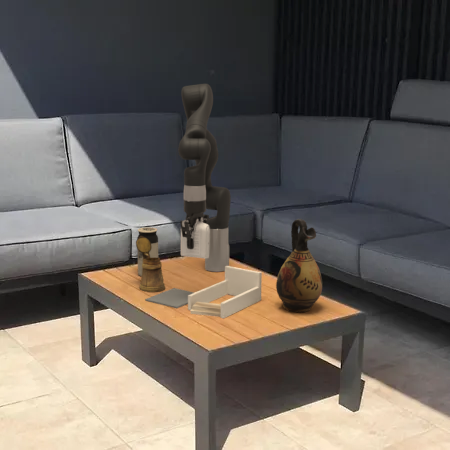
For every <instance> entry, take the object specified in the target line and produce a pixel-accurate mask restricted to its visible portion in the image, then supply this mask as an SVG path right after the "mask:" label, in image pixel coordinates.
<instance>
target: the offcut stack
mask: <svg viewBox="0 0 450 450" xmlns="http://www.w3.org/2000/svg"><path fill="white" fill-rule="evenodd" d="M189 311H190V314H191V315H199V316H210V317H217V318H218V317H219V318H221V303H213V302H209V303H204V302H196V303H195V304H194V305H193V308H192V309H191V310H189Z"/></svg>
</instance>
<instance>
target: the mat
mask: <svg viewBox="0 0 450 450" xmlns="http://www.w3.org/2000/svg"><path fill="white" fill-rule="evenodd" d="M193 293H195V292H194V291H189V290H185V289H182V288H175V287H173V288H170V289H168V290H165V291H162V292H159V293H158V294H157V293H156V295H151V296H150V297H148V298H147V297H146V298H145V299H144V300H145V301H146V302H150V303H153V304H158V305H162V306H166V307H170V308H173V309H179V308H182V307H183V306H186V305H188V295H190V294H193Z"/></svg>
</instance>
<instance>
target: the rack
mask: <svg viewBox="0 0 450 450" xmlns="http://www.w3.org/2000/svg"><path fill="white" fill-rule="evenodd" d="M262 276H263V274H262V271H256V270H251V269H247V268H240V267H235V266H230V265H229V266H225V271H224V280H222V281H220V282H217V283H215V284H212V285H210V286H207V287H205V288H202V289H200V290H198V291H195V292H194V293H193V294H190V295H188V304H187V310H188V311H190V310H191V309H192V308H193V305H194V304H195V303H196V302H204V303H212V302H213V301H215V300H218V299H220V298H222V297H225V296H227V295H229V296H232V297H231V298H229V299H226V300H223V301H222V302H220V304H221V317H220V318H221V319H225V318H227V317H229V316H231V315H233V314H235V313H238V312H240V311H242V310H244V309H246V308H247V307H250V306H252V305H254V304H257V303H258V302H260V301H262V281H263V280H262Z"/></svg>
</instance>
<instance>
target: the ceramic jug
mask: <svg viewBox="0 0 450 450" xmlns="http://www.w3.org/2000/svg"><path fill="white" fill-rule="evenodd" d="M290 233H291V234H290V235H291V250H292V251H291V253H290V255H289V256H287V258H286V260H285V261H284V263H283V264H282V266H281V267H280V270H279V272H278V274H277V277H276V283H275V288H276V292H277V293H276V294H277V295H278V297H279V299H280V300H281V302H282V303H283V308H284V309H285V310H287V312H294V313H305V312H309V311H311V308H312V306H313V305H314V304H316V302H317V301H318V300H319V299H320V297H321V294H322V292H323V291H322V290H323V279H322V274H321V271H320V267H319V266H318V264H317V262H316V259H315V258H314V257H313V255H312V253H311V251H310V249H309V247H308V242H309V241H310V240H314V239H316V238H317V231H316V230H315V228H314V227H310V228H308V224H307V222H306V221H305V220H304V219H303V218H297V219H295V220H294V221H293V222H292V224H291V232H290Z"/></svg>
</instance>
